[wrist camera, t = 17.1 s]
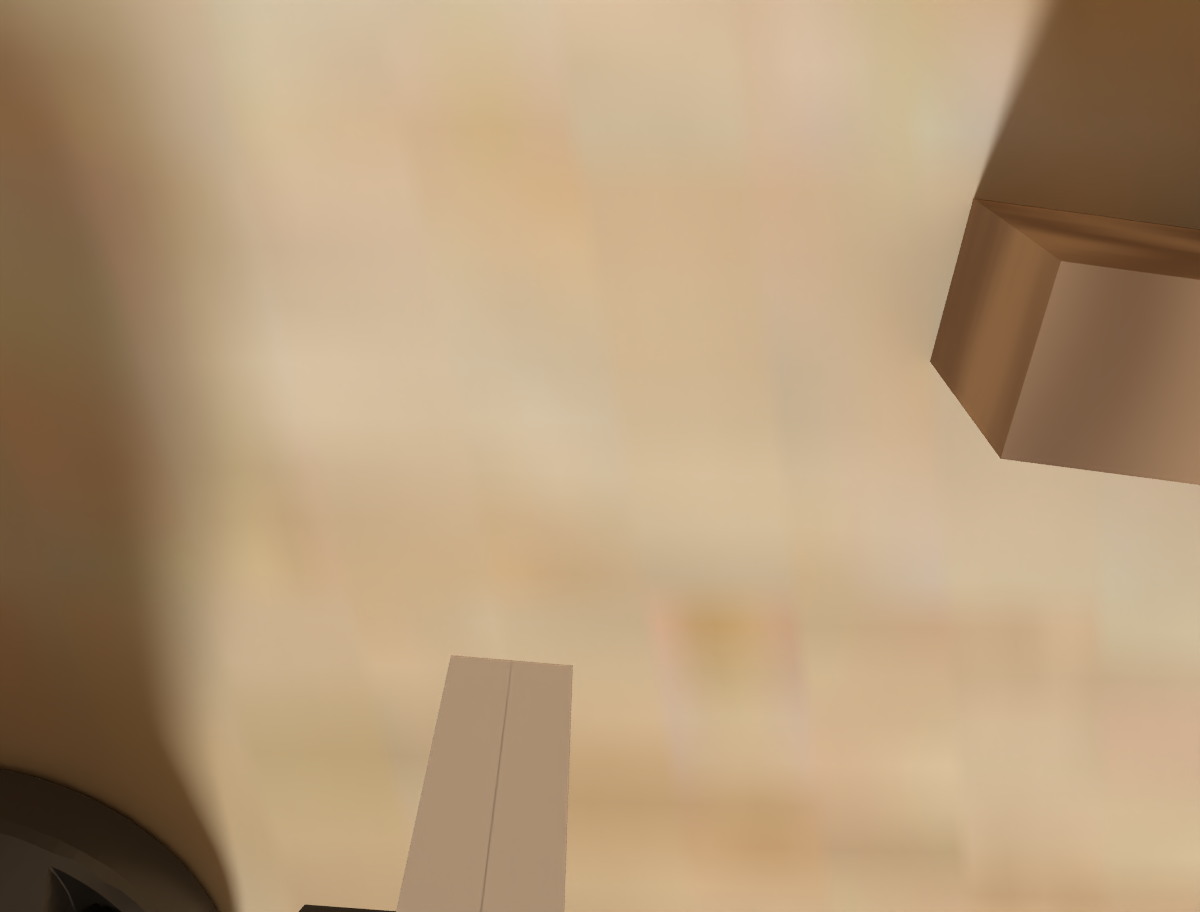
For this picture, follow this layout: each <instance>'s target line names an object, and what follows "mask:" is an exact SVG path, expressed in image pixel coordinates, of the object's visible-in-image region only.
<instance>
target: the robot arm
mask: <svg viewBox="0 0 1200 912" xmlns="http://www.w3.org/2000/svg"><path fill="white" fill-rule="evenodd" d="M572 671H573V666H571V665H560V664H548V663H536V662H524V661H512V660H500V659H488V658H476V657H464V656H452V655H451V658H450V662H449V667H448V672H447V677H446V681H445V686H444V691H443V695H442V700H441V705H440V709H439V714H438V719H437V723H436V728H435V733H434V737H433V742H432V747H431V751H430V756H429V761H428V765H427V770H426V775H425V779H424V784H423V789H422V793H421V798H420V803H419V807H418V812H417V817H416V821H415V826H414V831H413V836H412V840H411V845H410V850H409V854H408V859H407V864H406V868H405V873H404V878H403V882H402V887H401V892H400V896H399V901H398V906H397V910H396V911H383V910H370V909H356V908H343V907H329V906H316V905H304V906H303V907H302V909H301V910H300V911H299V912H564V903H565V874H566V845H567V816H568V787H569V758H570V729H571V700H572ZM0 912H217V911H216V909H215V907H214V906H213V904H212V902H211V900H210V899H209V897H208V896H207V894H206V893H205V891H204V890H203V888H202V887H201V886H200V884H199V883H198V882H197V881H196V879H195V878H194V877H193V876H192V874H191V873H190V872H189V871H188V870H187V869H186V868H185V866H184V865H183V864H182V863H181V862H180V861H179V860H178V859H177V858H176V857H175V856H174V855H173V854H172V853H171V852H170V851H169V850H168V849H166V848H165V847H164V846H163V845H162V844H161V843H159V842H158V841H157V840H156V839H155V838H153V837H152V836H151V835H149V834H148V833H147V832H145V831H144V830H143V829H141V828H140V827H139V826H137V825H136V824H134V823H133V822H131V821H130V820H128V819H127V818H125V817H124V816H122V815H120V814H118V813H117V812H115V811H113V810H112V809H110V808H108V807H106V806H104V805H103V804H101V803H99V802H97V801H95V800H93V799H91V798H89V797H86V796H84V795H82V794H80V793H77V792H75V791H73V790H70V789H68V788H65V787H63V786H60V785H57V784H55V783H52V782H49V781H46V780H42V779H39V778H36V777H33V776H29V775H25V774H21V773H17V772H13V771H8V770H3V769H0Z"/></svg>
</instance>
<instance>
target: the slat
mask: <svg viewBox="0 0 1200 912" xmlns="http://www.w3.org/2000/svg"><path fill="white" fill-rule="evenodd" d="M930 362H931V363H932V365H933V366H934V367H935V369H936V370H937V372H938V373H939V374H940V376H941V377H942V378H943V380H944V381H945V383H946V384H947V385H948V387H949V388H950V390H951V391H952V392H953V394H954V395H955V396H956V398H957V399H958V401H959V402H960V403H961V405H962V406H963V407H964V409H965V410H966V412H967V413H968V414H969V416H970V417H971V418H972V420H973V421H974V423H975V424H976V425H977V427H978V428H979V429H980V431H981V432H982V434H983V435H984V436H985V438H986V439H987V440H988V442H989V443H990V445H991V446H992V447H993V449H994V450H995V451H996V453H997V454H998V456H999V457H1000V458H1001V459H1008V460H1016V461H1023V462H1031V463H1038V464H1046V465H1053V466H1061V467H1069V468H1076V469H1084V470H1091V471H1099V472H1107V473H1114V474H1122V475H1129V476H1137V477H1144V478H1152V479H1160V480H1167V481H1175V482H1182V483H1190V484H1198V485H1200V230H1198V229H1191V228H1183V227H1176V226H1169V225H1162V224H1154V223H1147V222H1140V221H1133V220H1125V219H1118V218H1111V217H1103V216H1096V215H1089V214H1082V213H1074V212H1067V211H1060V210H1053V209H1045V208H1038V207H1031V206H1024V205H1016V204H1009V203H1002V202H995V201H987V200H980V199H973V202H972V206H971V210H970V214H969V217H968V221H967V225H966V229H965V233H964V236H963V240H962V244H961V248H960V251H959V255H958V259H957V263H956V266H955V270H954V274H953V278H952V281H951V285H950V289H949V293H948V296H947V300H946V304H945V308H944V311H943V315H942V319H941V323H940V327H939V330H938V334H937V338H936V342H935V345H934V349H933V353H932V357H931V360H930Z"/></svg>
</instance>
